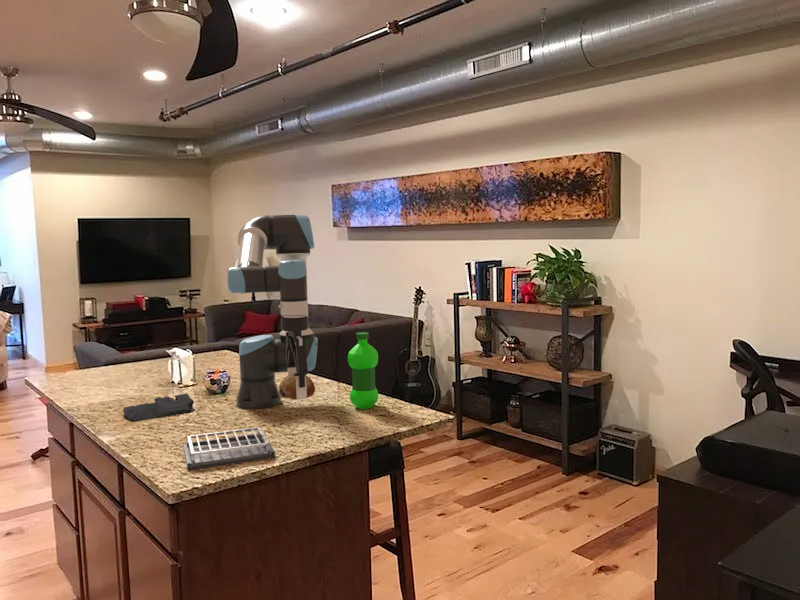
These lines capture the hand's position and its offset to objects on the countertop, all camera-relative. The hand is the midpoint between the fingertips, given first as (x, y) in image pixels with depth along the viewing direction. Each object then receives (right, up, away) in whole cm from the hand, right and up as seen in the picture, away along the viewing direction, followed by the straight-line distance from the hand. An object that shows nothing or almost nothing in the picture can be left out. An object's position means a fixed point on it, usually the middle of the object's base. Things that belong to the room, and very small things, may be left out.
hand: (297, 394), depth 188 cm
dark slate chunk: (-52, -12, +36) cm, 64 cm away
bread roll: (0, 0, 0) cm, 1 cm away
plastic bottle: (+17, -10, +36) cm, 41 cm away
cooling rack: (-18, -15, -7) cm, 24 cm away
